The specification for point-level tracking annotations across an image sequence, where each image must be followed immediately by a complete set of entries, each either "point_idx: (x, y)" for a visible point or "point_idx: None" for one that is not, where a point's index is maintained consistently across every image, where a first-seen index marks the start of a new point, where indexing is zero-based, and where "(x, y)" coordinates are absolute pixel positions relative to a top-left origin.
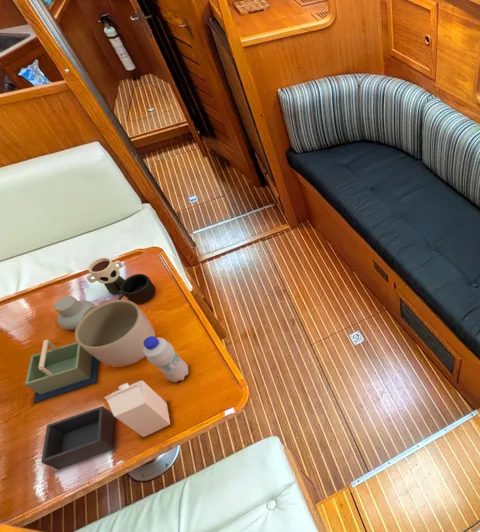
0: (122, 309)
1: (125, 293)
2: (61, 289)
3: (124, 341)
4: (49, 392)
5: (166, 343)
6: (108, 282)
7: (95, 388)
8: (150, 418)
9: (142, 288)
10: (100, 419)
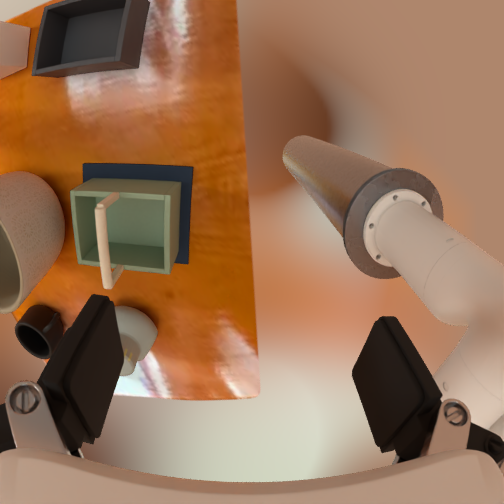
0: (1, 289)
1: (38, 330)
2: (181, 390)
3: None
4: (163, 178)
5: None
6: None
7: (85, 150)
8: None
9: (17, 325)
10: (36, 47)
